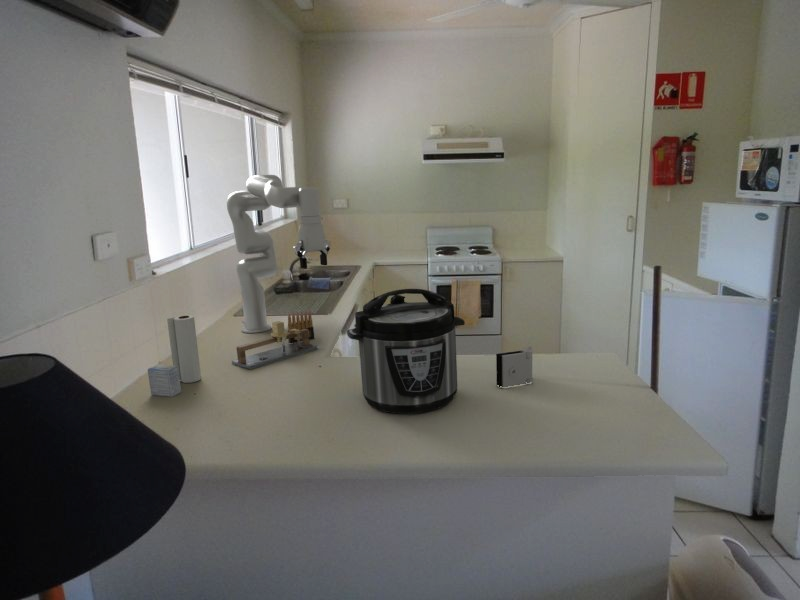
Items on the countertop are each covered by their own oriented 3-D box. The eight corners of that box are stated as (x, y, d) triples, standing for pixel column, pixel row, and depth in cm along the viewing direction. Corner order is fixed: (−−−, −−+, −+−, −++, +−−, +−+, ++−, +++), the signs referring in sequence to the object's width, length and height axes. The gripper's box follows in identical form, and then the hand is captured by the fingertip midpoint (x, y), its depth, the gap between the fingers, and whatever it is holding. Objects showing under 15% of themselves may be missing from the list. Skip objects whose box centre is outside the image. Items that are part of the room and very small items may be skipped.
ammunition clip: (312, 337, 234) (310, 309, 232) (314, 338, 232) (312, 309, 230) (288, 342, 228) (285, 313, 226) (290, 343, 227) (287, 314, 224)
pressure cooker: (340, 414, 154) (332, 298, 148) (376, 379, 180) (371, 280, 174) (450, 423, 145) (446, 301, 138) (470, 385, 171) (468, 281, 165)
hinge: (529, 376, 177) (530, 345, 175) (542, 381, 172) (542, 349, 170) (494, 386, 170) (494, 353, 168) (506, 391, 165) (506, 358, 163)
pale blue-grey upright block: (181, 392, 176) (178, 365, 175) (171, 397, 172) (168, 370, 171) (161, 390, 179) (157, 364, 177) (150, 395, 175) (146, 368, 173)
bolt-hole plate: (232, 363, 203) (231, 360, 203) (299, 344, 225) (299, 341, 224) (249, 369, 196) (249, 366, 196) (317, 348, 217) (317, 345, 217)
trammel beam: (238, 362, 200) (236, 343, 199) (306, 343, 222) (304, 326, 220) (244, 364, 198) (242, 345, 196) (312, 344, 219) (311, 327, 218)
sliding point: (272, 350, 212) (269, 322, 209) (281, 348, 214) (278, 320, 212) (280, 353, 208) (277, 324, 206) (289, 350, 211) (286, 322, 209)
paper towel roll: (205, 378, 189) (197, 315, 185) (191, 384, 183) (183, 319, 179) (188, 376, 192) (181, 314, 188) (175, 382, 186) (166, 318, 182)
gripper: (322, 219, 221) (325, 263, 224) (285, 222, 208) (289, 269, 212) (335, 219, 216) (337, 264, 219) (298, 223, 203) (302, 270, 207)
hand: (314, 266), depth 215 cm, fingers open, 9 cm apart
